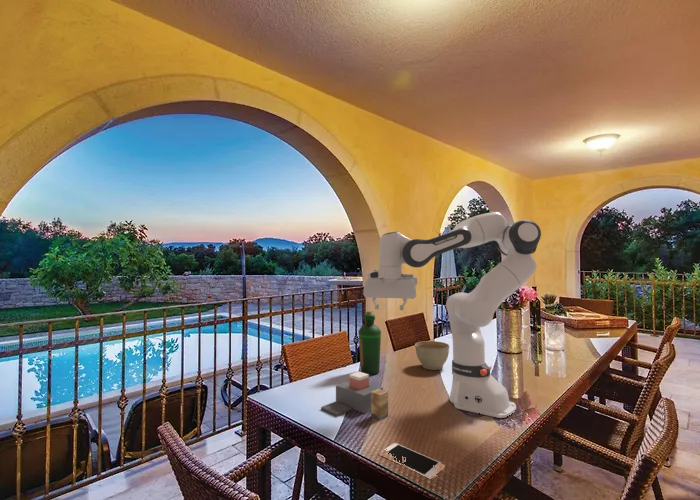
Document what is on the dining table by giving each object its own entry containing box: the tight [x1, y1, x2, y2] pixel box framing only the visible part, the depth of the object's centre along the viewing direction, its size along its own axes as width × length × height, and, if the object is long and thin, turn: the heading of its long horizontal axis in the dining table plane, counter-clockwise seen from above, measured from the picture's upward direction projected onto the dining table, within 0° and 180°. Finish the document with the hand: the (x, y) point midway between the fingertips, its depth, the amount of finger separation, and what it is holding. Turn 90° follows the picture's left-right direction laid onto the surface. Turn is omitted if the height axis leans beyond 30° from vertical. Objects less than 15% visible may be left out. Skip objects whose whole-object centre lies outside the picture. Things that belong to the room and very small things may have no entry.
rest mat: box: [320, 401, 353, 417], centre depth 121 cm, size 8×7×1 cm
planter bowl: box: [414, 340, 450, 371], centre depth 168 cm, size 16×16×11 cm
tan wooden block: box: [370, 389, 389, 421], centre depth 116 cm, size 4×4×8 cm
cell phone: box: [383, 442, 442, 480], centre depth 90 cm, size 8×16×1 cm, turn 47°
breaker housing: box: [335, 380, 384, 414], centre depth 126 cm, size 14×10×6 cm
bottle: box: [358, 310, 382, 376], centre depth 161 cm, size 11×11×28 cm
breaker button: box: [348, 371, 370, 391], centre depth 126 cm, size 5×5×5 cm
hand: (389, 309), depth 135 cm, fingers open, 8 cm apart
